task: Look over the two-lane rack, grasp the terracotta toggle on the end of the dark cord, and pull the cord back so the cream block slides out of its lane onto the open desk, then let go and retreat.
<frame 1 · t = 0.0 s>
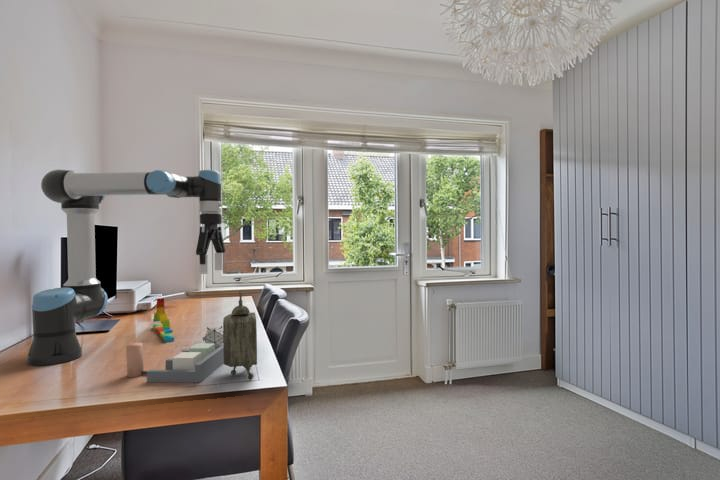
hand: (211, 271, 154), 28 cm above the table, fingers open, 13 cm apart
grey spiky lattice polyhedron: (215, 349, 155), on the table
corded block: (187, 375, 126), on the table
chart: (163, 335, 178), on the table
rack: (189, 369, 132), on the table
sage block: (202, 364, 137), resting in rack
tabletop clock: (240, 375, 126), on the table
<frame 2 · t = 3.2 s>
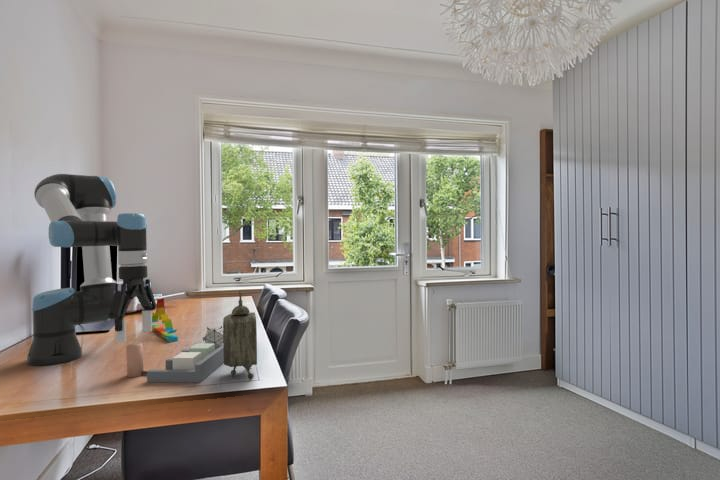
hand: (134, 336, 127), 12 cm above the table, fingers open, 13 cm apart
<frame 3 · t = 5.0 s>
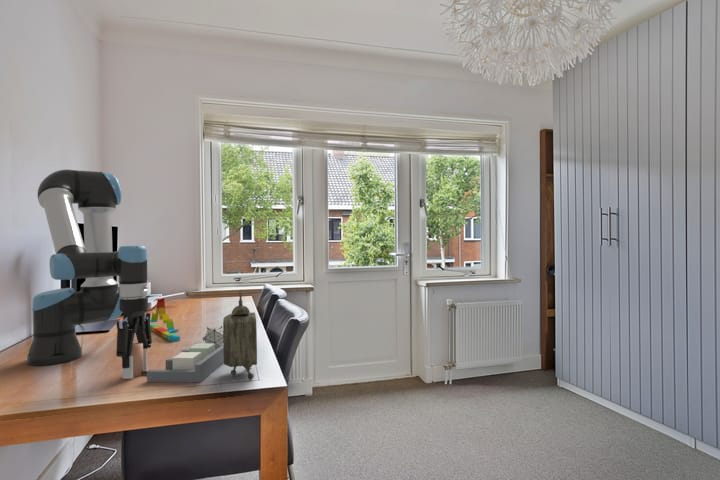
hand: (135, 373, 127), 0 cm above the table, fingers open, 7 cm apart
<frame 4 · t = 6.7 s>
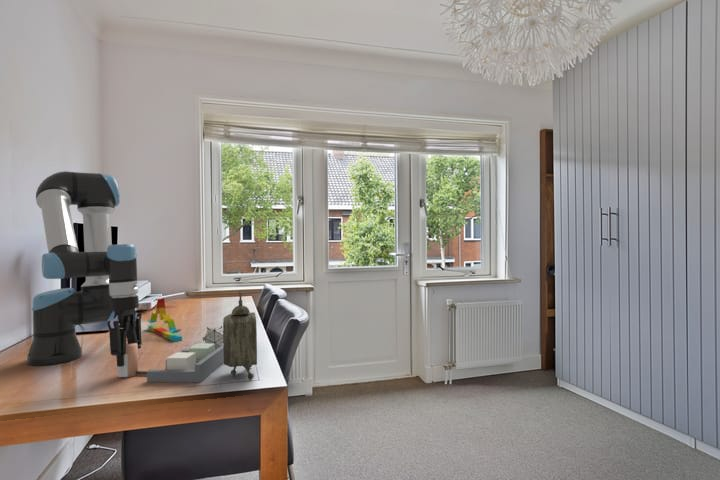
hand: (128, 373, 127), 0 cm above the table, fingers closed on corded block, 4 cm apart
corded block: (181, 375, 126), on the table, touching gripper
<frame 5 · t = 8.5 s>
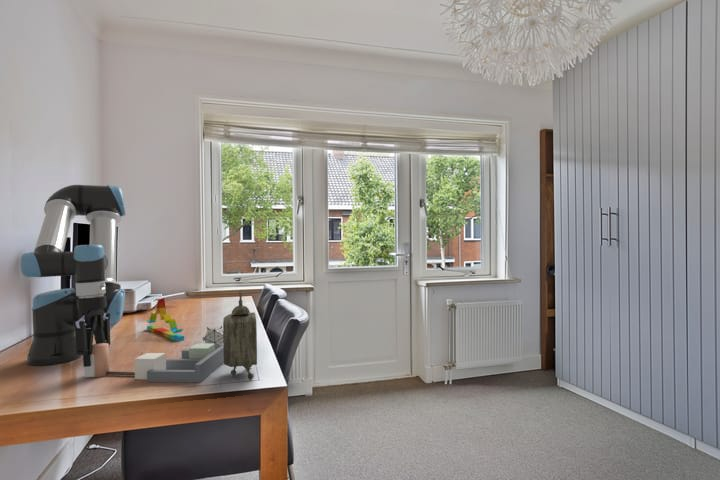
hand: (95, 373, 127), 0 cm above the table, fingers closed on corded block, 4 cm apart
corded block: (150, 376, 125), on the table, touching gripper
when the fingers open (0 cm above the table, at t = 10.5 s): corded block stays where it is, on the table.
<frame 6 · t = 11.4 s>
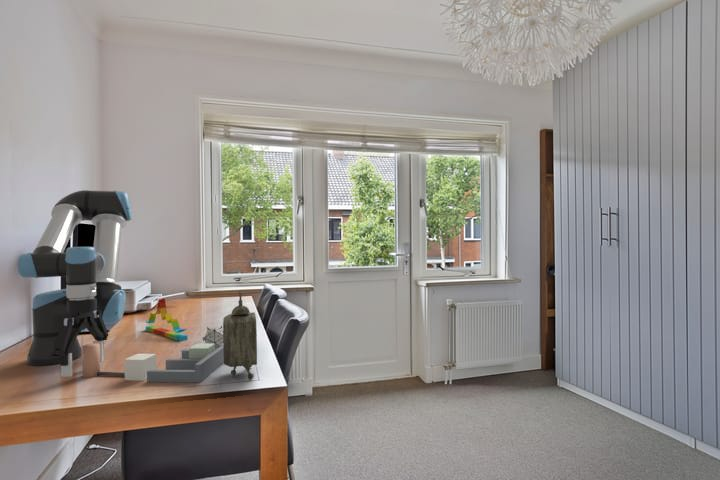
hand: (83, 368, 128), 2 cm above the table, fingers open, 13 cm apart
corded block: (141, 376, 125), on the table
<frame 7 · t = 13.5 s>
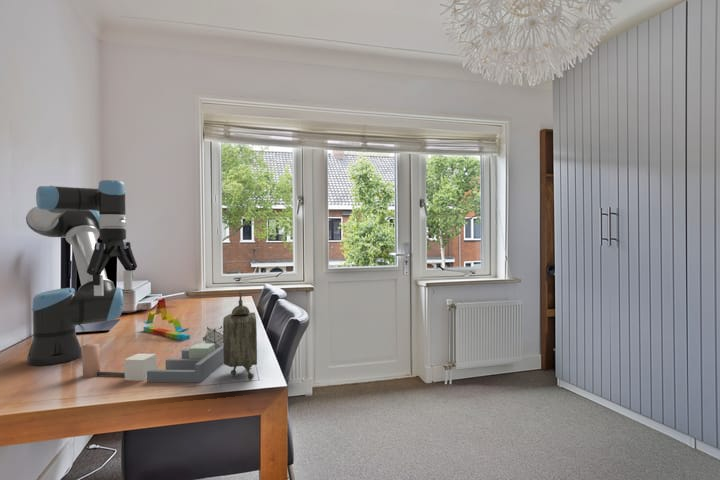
hand: (114, 292, 140), 23 cm above the table, fingers open, 13 cm apart
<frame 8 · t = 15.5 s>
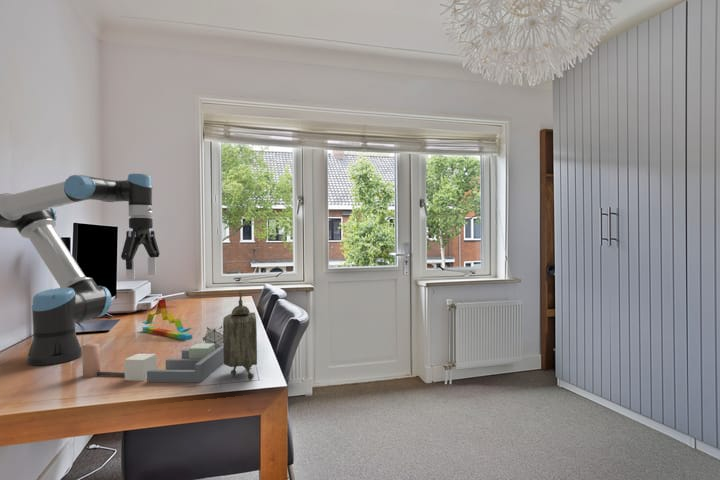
hand: (142, 276, 152), 27 cm above the table, fingers open, 13 cm apart
at the end: corded block inside the target area (6.8 cm from its centre), on the table; corded block tilted 0°; the gripper is holding nothing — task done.
